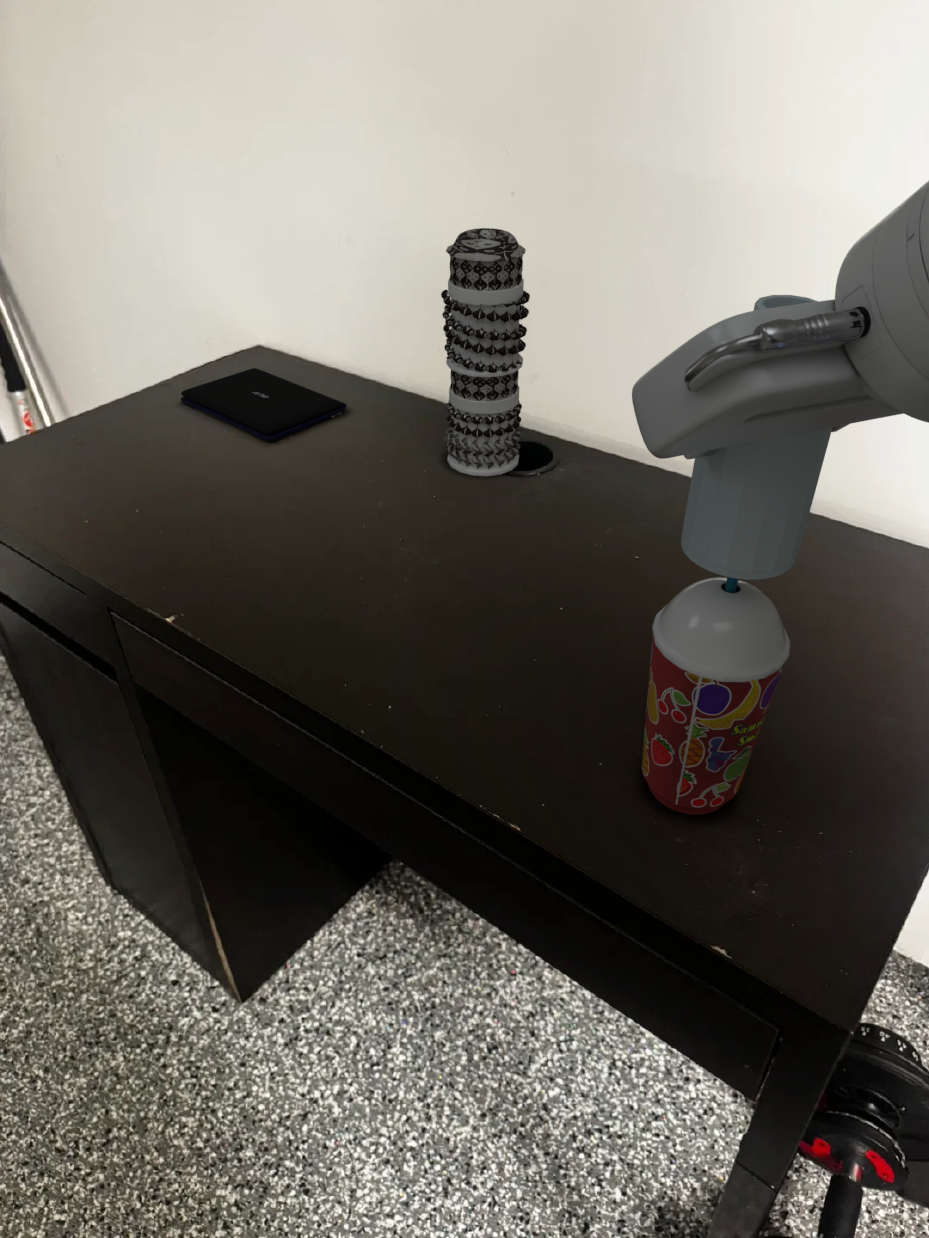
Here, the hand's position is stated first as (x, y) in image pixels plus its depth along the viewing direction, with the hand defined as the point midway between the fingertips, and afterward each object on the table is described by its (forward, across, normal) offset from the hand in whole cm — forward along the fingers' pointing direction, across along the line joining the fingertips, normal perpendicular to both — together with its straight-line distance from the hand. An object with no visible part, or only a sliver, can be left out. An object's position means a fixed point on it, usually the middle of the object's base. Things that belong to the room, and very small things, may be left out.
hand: (756, 432), depth 48 cm
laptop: (+73, -16, +34) cm, 82 cm away
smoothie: (+19, 0, -20) cm, 27 cm away
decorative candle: (+56, +6, +17) cm, 59 cm away
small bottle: (+5, 0, -5) cm, 7 cm away
